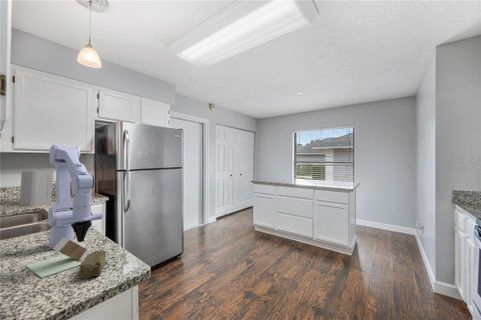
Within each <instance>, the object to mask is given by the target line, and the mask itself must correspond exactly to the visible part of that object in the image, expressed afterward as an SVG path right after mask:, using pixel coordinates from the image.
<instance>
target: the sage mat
mask: <svg viewBox="0 0 481 320" xmlns="http://www.w3.org/2000/svg"><path fill="white" fill-rule="evenodd" d="M81 263H82V262H79V261H77V260H74V259H72V258H70V257H68V256H66V255H64V254H62V255H60V256H55V257H52V258H48V259H44V260H42V261H38V262H35V263H31V264H28V265H26V266H25V267H26V268H27V269H29V270H30V271H31V272H32V273H33V274H35V275H36V276H37V277H39V278H40V279H44V278H48V277H51V276H53V275H57V274H59V273H63V272H66V271H68V270H71V269H74V268H78V267H80V265H81Z"/></svg>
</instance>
